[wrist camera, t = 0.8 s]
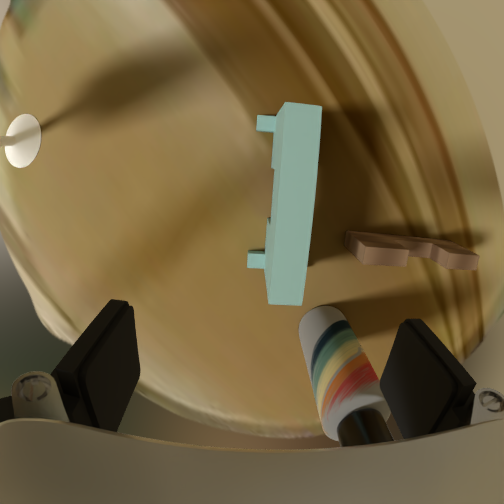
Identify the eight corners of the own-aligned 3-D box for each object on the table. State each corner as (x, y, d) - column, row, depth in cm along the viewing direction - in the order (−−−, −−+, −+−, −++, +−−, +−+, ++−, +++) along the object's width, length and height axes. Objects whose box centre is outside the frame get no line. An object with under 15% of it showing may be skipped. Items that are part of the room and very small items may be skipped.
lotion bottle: (350, 335, 36) (415, 467, 16) (307, 353, 36) (343, 495, 17) (337, 296, 34) (411, 430, 15) (290, 316, 35) (325, 465, 16)
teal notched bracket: (257, 116, 28) (260, 99, 20) (318, 122, 29) (345, 110, 20) (247, 264, 33) (246, 302, 24) (304, 267, 33) (322, 306, 24)
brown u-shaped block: (344, 245, 32) (362, 264, 27) (346, 230, 32) (365, 246, 26) (447, 253, 33) (475, 270, 27) (450, 240, 32) (479, 255, 26)
